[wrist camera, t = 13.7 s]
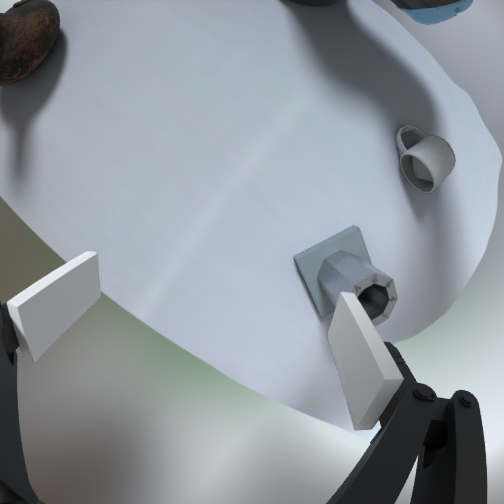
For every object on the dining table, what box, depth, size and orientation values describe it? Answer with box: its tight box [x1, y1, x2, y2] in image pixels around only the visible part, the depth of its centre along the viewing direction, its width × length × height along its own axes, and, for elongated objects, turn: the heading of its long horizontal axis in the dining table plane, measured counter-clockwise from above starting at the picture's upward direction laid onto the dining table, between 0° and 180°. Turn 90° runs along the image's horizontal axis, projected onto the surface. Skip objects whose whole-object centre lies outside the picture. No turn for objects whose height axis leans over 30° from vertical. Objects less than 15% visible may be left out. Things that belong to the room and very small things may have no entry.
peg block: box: [293, 225, 372, 317], centre depth 40 cm, size 11×11×8 cm
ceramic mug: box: [396, 125, 455, 193], centre depth 37 cm, size 11×8×8 cm
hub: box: [317, 250, 398, 327], centre depth 37 cm, size 7×7×11 cm
